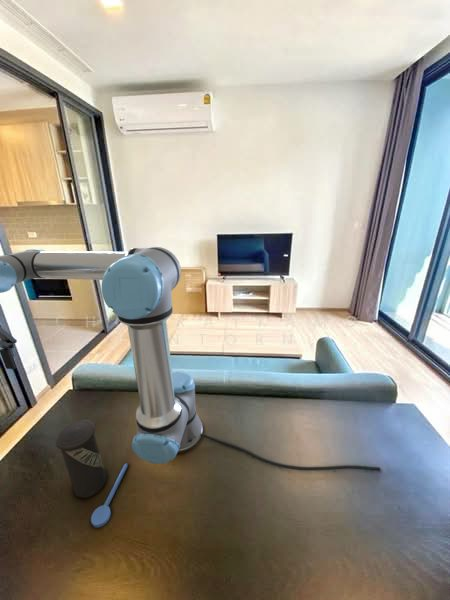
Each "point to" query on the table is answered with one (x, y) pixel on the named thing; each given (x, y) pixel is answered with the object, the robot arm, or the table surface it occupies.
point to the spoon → (106, 504)
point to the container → (82, 457)
